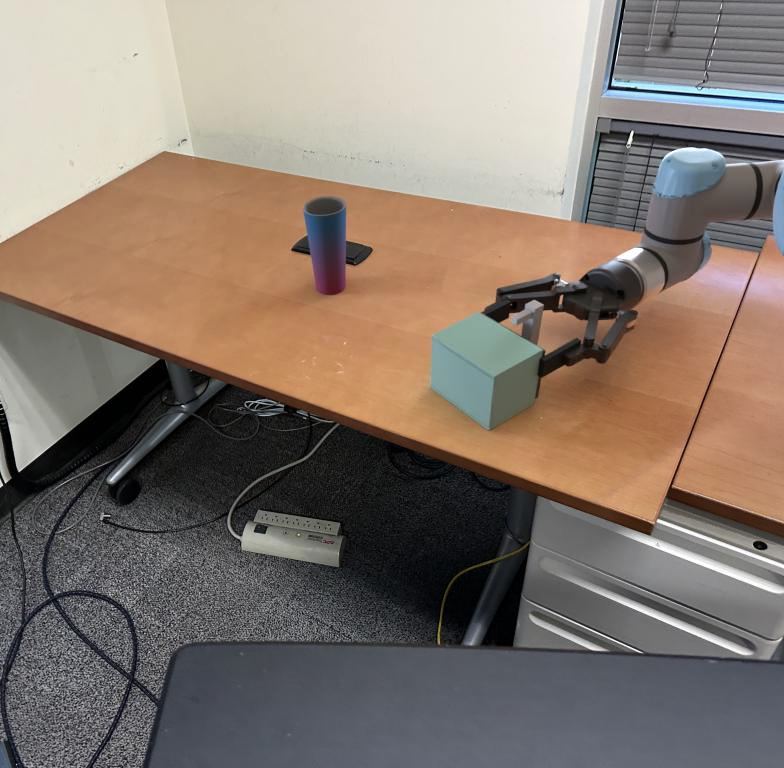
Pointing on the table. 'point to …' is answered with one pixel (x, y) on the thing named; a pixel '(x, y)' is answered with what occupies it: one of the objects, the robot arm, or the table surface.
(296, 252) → the table surface
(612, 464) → the table surface
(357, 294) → the table surface
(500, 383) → the box
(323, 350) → the table surface
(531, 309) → the dark grey drawer
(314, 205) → the cup
